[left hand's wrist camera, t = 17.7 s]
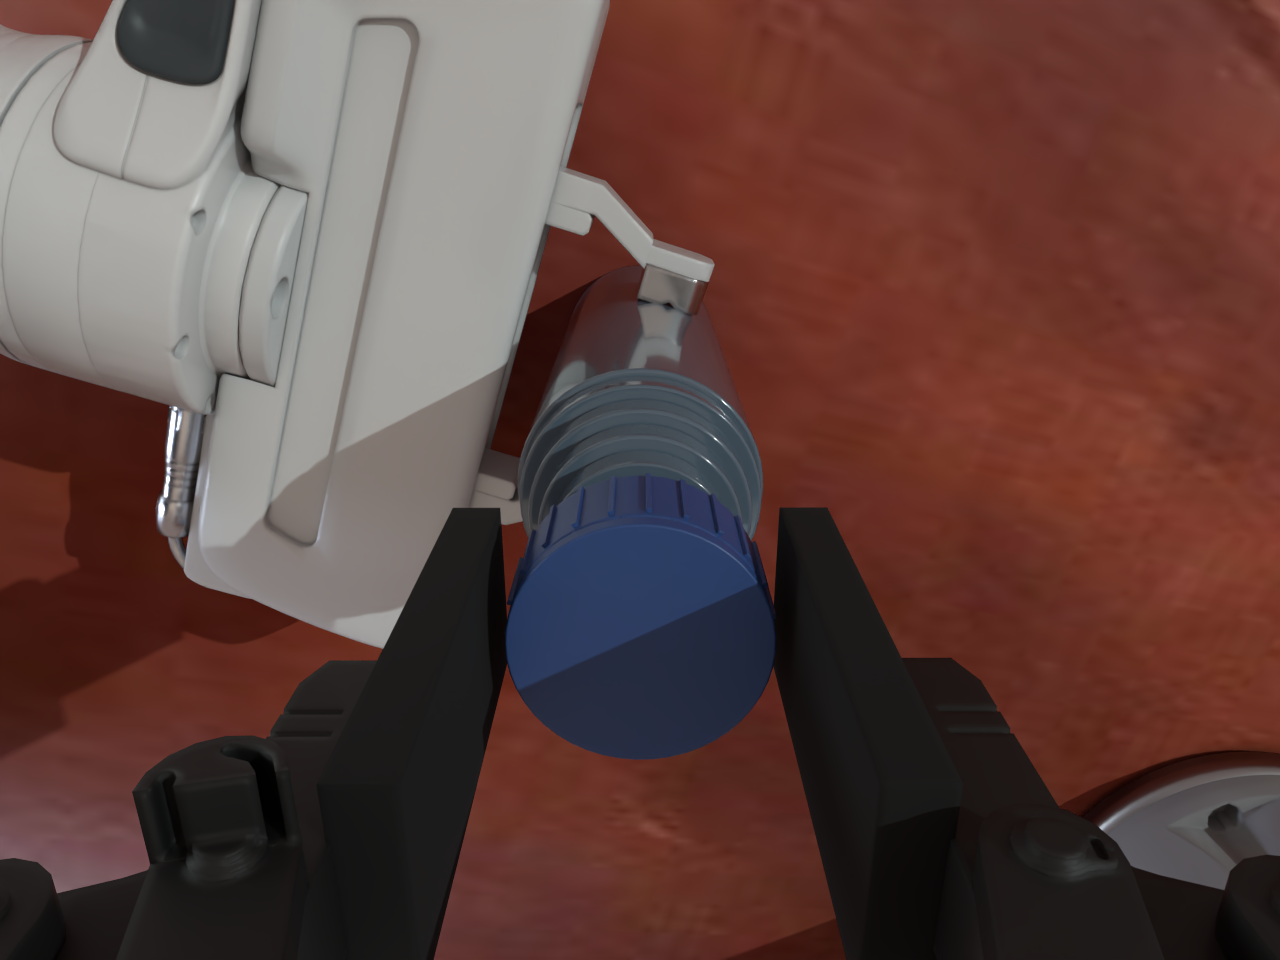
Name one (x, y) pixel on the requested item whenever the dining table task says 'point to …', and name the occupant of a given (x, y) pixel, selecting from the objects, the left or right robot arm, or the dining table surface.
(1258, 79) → the dining table surface
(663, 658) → the cap
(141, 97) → the right robot arm
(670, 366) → the bottle
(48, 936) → the left robot arm
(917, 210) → the dining table surface
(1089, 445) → the dining table surface
